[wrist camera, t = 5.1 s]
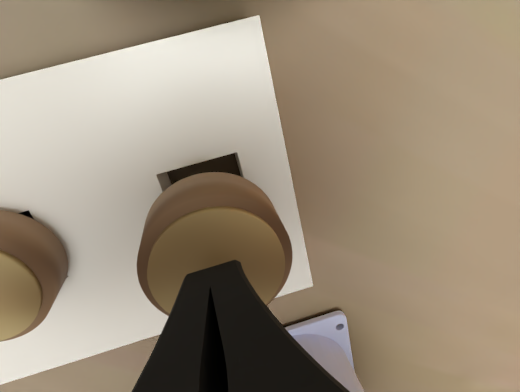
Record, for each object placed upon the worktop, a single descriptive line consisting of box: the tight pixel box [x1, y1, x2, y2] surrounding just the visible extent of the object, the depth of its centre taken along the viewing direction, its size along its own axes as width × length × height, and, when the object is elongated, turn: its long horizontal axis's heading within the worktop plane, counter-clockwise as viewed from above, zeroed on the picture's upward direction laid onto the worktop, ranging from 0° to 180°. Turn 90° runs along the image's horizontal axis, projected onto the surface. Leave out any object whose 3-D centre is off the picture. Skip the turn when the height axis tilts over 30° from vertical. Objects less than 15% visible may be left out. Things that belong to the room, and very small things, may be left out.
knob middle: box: [0, 210, 68, 342], centre depth 13 cm, size 4×4×5 cm
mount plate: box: [0, 15, 313, 385], centre depth 14 cm, size 12×23×2 cm, turn 102°
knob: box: [137, 172, 292, 316], centre depth 12 cm, size 4×4×5 cm
